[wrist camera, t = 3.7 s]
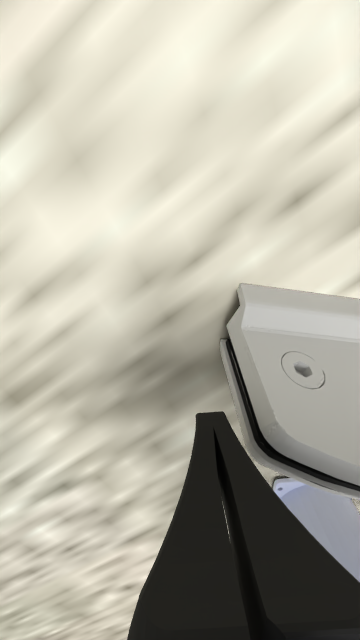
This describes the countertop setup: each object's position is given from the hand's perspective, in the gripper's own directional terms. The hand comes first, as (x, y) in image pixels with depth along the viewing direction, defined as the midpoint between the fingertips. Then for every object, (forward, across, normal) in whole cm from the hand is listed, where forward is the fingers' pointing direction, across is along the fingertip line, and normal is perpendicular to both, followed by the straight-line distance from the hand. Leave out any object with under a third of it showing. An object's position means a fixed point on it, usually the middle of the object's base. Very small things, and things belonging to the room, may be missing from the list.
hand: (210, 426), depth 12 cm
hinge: (+6, -10, 0) cm, 11 cm away
